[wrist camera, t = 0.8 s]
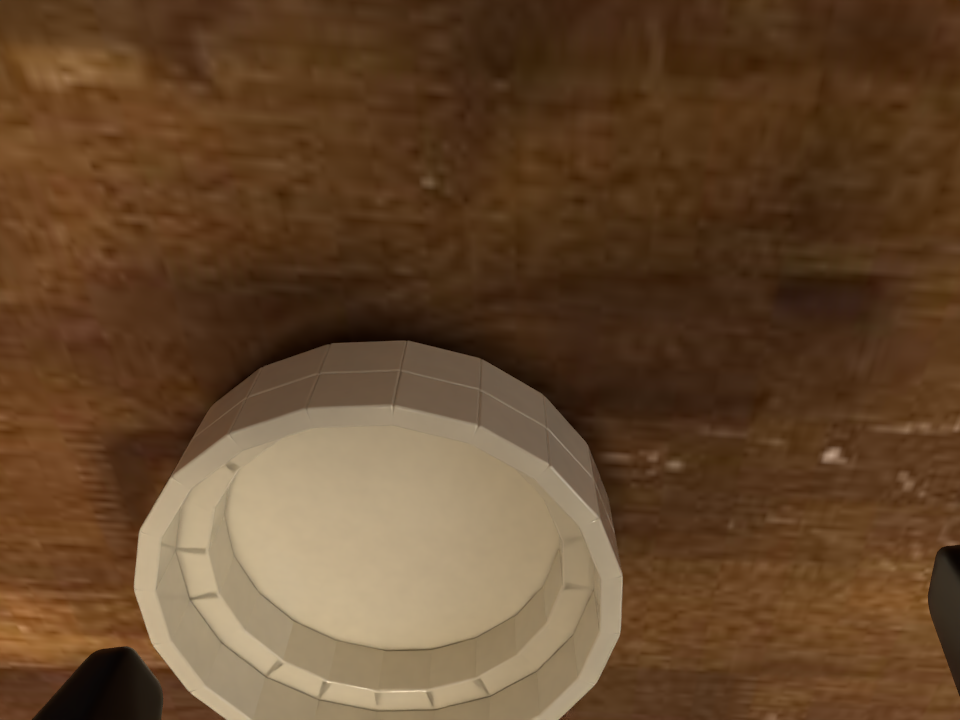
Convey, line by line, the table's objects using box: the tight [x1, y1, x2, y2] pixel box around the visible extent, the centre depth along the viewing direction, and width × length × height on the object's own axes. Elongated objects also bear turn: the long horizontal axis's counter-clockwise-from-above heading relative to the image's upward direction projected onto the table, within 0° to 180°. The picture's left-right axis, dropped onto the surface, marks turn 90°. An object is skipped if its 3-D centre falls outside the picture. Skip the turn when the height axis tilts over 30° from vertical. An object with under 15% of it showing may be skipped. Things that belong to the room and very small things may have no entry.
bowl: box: [134, 340, 623, 720], centre depth 25 cm, size 13×13×4 cm
